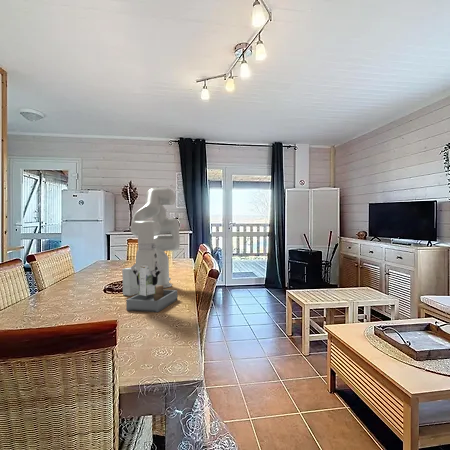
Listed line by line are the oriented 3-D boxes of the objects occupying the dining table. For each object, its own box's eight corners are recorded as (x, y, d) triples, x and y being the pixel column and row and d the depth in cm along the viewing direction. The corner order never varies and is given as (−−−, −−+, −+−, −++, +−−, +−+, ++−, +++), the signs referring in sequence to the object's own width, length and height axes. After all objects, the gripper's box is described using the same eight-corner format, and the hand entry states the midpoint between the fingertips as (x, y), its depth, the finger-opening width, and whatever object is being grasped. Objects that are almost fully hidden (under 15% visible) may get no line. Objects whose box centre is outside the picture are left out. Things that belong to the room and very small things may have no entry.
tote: (149, 298, 170) (149, 289, 170) (177, 299, 166) (177, 290, 166) (126, 310, 149) (126, 299, 149) (157, 312, 145) (157, 301, 145)
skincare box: (130, 296, 176) (129, 269, 176) (122, 295, 179) (121, 268, 179) (141, 292, 183) (140, 267, 183) (133, 291, 186) (132, 266, 186)
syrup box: (148, 292, 156) (147, 262, 156) (156, 294, 152) (155, 263, 152) (138, 294, 152) (137, 264, 151) (146, 296, 148) (145, 265, 148)
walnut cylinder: (156, 298, 166) (156, 285, 166) (165, 298, 165) (165, 285, 164) (151, 300, 161) (151, 287, 161) (160, 301, 160) (160, 287, 160)
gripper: (166, 246, 153) (167, 283, 153) (134, 246, 158) (135, 282, 158) (159, 248, 146) (160, 286, 146) (125, 248, 150) (126, 285, 151)
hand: (147, 284), depth 152 cm, fingers closed on syrup box, 7 cm apart
